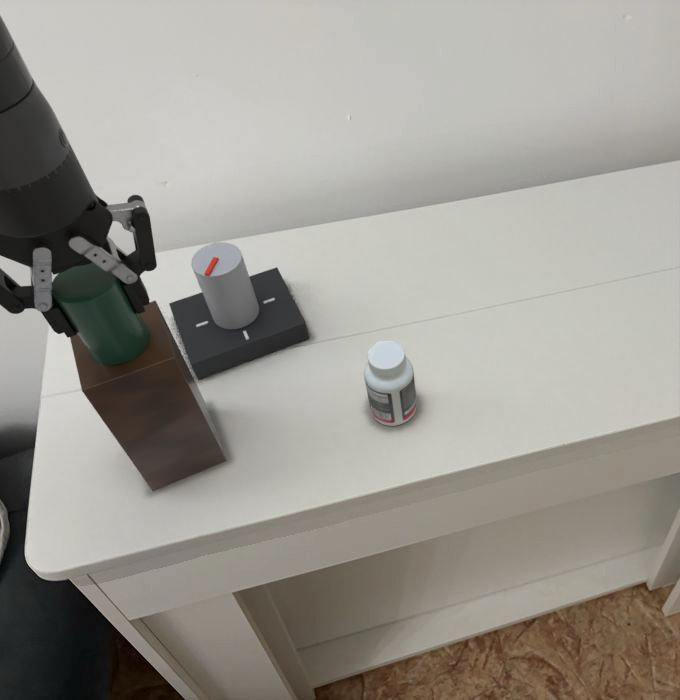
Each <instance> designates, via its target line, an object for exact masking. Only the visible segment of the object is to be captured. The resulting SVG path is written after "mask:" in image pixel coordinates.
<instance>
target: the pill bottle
mask: <svg viewBox="0 0 680 700" xmlns="http://www.w3.org/2000/svg"><path fill="white" fill-rule="evenodd" d="M363 378H364V383H365V388H366V393H367V399H368V403H369V409H370V413H371V415H372V417H373V419H374V420H375V421H377V422H378V423H380V424H382V425H385V426H390V427H391V426H392V427H393V426H399V425H402V424H404V423H406V422H408V421H409V420H411V418H413V416H414V414H416V410H417V407H418V406H417V405H418V404H417V403H418V402H417V401H418V399H417V391H416V381H415V370H414V366H413V363H412V361H411V360H410V359H409V358H408V357H407V355H406V351H405V349H404V347H403V346H402V345H401V344H400V343H399V342H397V341H395V340H390V339H389V340H386V339H385V340H380V341H377V342H376V343H375V344H373V345H372V346H371V347H370V348H369V349H368V352H367V362H366V364H365V366H364V368H363Z"/></svg>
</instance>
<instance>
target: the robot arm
mask: <svg viewBox="0 0 680 700" xmlns="http://www.w3.org/2000/svg"><path fill="white" fill-rule="evenodd" d="M113 222H118V223H119V224H121V226H122V228H123V229H124V231H127V232H129V233H132V237H133V244H134V249H135V250H134V251H132V252H130V253H129V254H128V253H127V252H125V251H124V250H123V249H121V248H120V247H119V246H117V244H116V243H115V242H114V240H113V239H112V238H111V237H109V233H110V229H111V228H112V225H113ZM153 236H154V235H153V230H152V223H151V216H150V214H149V211H148V208H147V206H146V202H145V200H144V198H143V197H142V196H141V195H139V194H133V195H130V196H129V197H128V198H127V202H123V203H113V204H109V203H108V202H106V201H105V200H104V199H102V198H101V197H99V196H98V195H97V194H96V192H95V191H94V189H93V187H92V185H91V183H90V181H89V179H88V177H87V176H86V173H85V171H84V169H83V167H82V165H81V163H80V161H79V159H78V157H77V155H76V154H75V151H74V148H73V147H72V144H71V143H70V141H69V139H68V137H67V134H66V132H65V131H64V129H63V127H62V124H61V123H60V121H59V118H58V117H57V114H56V113H55V111H54V109H53V108H52V106H51V104H50V103H49V101H48V99H47V98H46V97H45V95H44V94H43V92H42V91H41V89H40V88H39V87H38V85H37V83H36V81H35V80H34V78H33V76H32V73H31V72H30V70H29V68H28V66H27V65H26V63H25V60H24V58H23V56H22V54H21V52H20V50H19V49H18V46H17V44H16V42H15V40H14V39H13V36H12V34H11V32H10V31H9V29H8V26H7V25H6V23H5V21H4V19H3V17H2V16H1V15H0V256H1V257H3V258H6V259H7V260H10V261H13V262H14V263H15V262H16V263H17V264H20V265H23V266H26V267H28V268H29V272H30V285H20V284H19V283H18V282H17V281H16V280H15V279H13V277H11V276H10V274H8V273H7V272H5V270H3V269H2V268H1V267H0V306H1V307H2V308H3V309H5V310H6V311H7V312H8V313H9V314H13V315H18V314H21V313H23V312H24V311H25V309H26V310H27V309H28V310H29V309H30V310H31V309H33V310H37V311H38V312H40V313H41V315H42V316H43V318H44V319H45V320H46V322H47V323H48V325H49V326H50V328H51V330H52V331H53V332H54V333H56V334H58V335H62V334H64V335H65V336H66V338H68V339H70V337H72V336H75V335H77V334H76V331H75V329H74V328H73V326H72V325H71V323H70V321H69V320H68V318H67V317H66V315H65V314H64V312H63V311H62V309H61V307H60V306H59V304H58V303H57V301H56V300H55V298H54V297H53V295H52V282H53V276H54V275H58V274H59V273H61V272H64V271H66V270H68V269H70V268H72V267H74V266H83V265H87V264H91V263H94V264H96V265H97V266H99V267H100V268H101V269H103V270H104V271H105V272H107V273H108V272H111V273H112V274H113V275H115V276H116V277H117V278H119V279H120V280H121V281H122V284H123V287H124V289H125V291H126V293H127V295H128V297H129V299H130V301H131V302H132V304H133V306H134V308H135V310H136V312H137V314H140V313H143V312H146V310H145V307H144V306H145V305H148V304H149V303H150V297H149V294H148V291H147V288H146V286H145V283H144V282H143V280H142V278H141V275H142V274H144V272H153V271H154V270H156V268H157V267H158V263H157V257H156V249H155V244H154V243H155V242H154V237H153Z"/></svg>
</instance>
